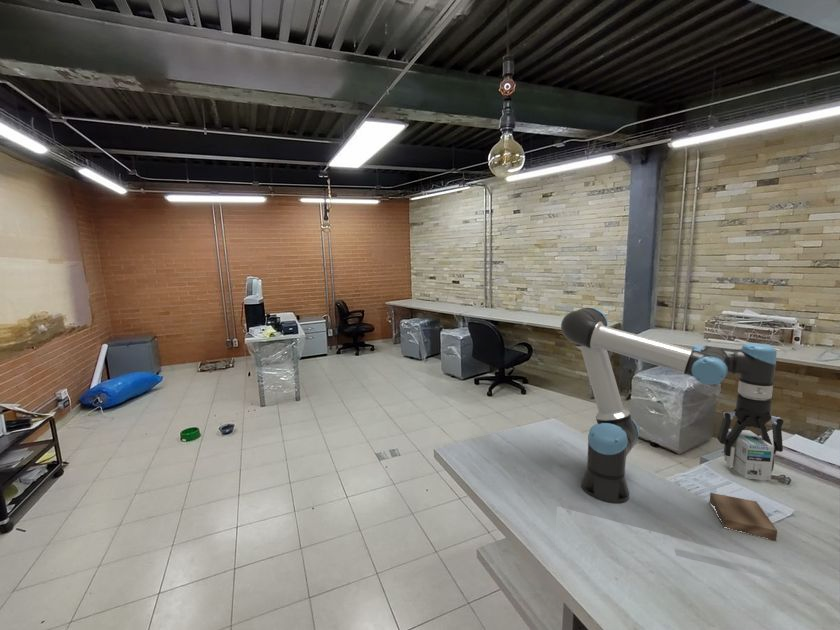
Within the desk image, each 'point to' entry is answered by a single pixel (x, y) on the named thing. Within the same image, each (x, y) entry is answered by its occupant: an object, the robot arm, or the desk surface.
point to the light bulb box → (752, 456)
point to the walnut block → (743, 516)
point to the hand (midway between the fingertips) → (746, 468)
